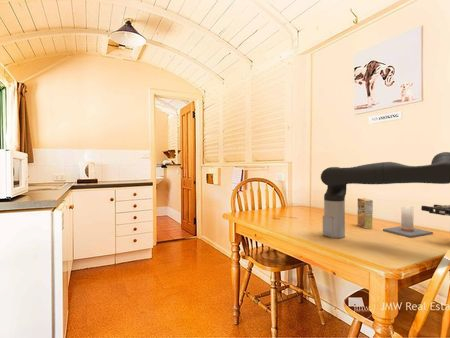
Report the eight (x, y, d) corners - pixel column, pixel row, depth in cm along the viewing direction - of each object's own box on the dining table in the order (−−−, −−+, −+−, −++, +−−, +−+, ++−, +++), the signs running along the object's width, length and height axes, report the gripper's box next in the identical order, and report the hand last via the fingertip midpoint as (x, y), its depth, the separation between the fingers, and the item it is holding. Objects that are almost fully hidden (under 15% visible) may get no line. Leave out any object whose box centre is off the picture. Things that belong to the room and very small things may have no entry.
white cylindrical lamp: (409, 232, 129) (408, 207, 129) (398, 229, 134) (398, 206, 134) (416, 231, 131) (416, 206, 131) (405, 228, 136) (405, 205, 135)
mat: (410, 237, 123) (410, 235, 123) (382, 230, 136) (382, 228, 136) (432, 234, 129) (432, 232, 129) (404, 227, 142) (404, 225, 142)
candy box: (356, 225, 149) (356, 198, 149) (364, 225, 149) (364, 197, 149) (365, 228, 141) (365, 200, 140) (373, 228, 141) (373, 200, 140)
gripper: (481, 203, 110) (437, 198, 125) (461, 205, 104) (418, 200, 119) (480, 221, 110) (437, 214, 125) (460, 224, 105) (417, 216, 120)
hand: (427, 207), depth 122 cm, fingers open, 8 cm apart
